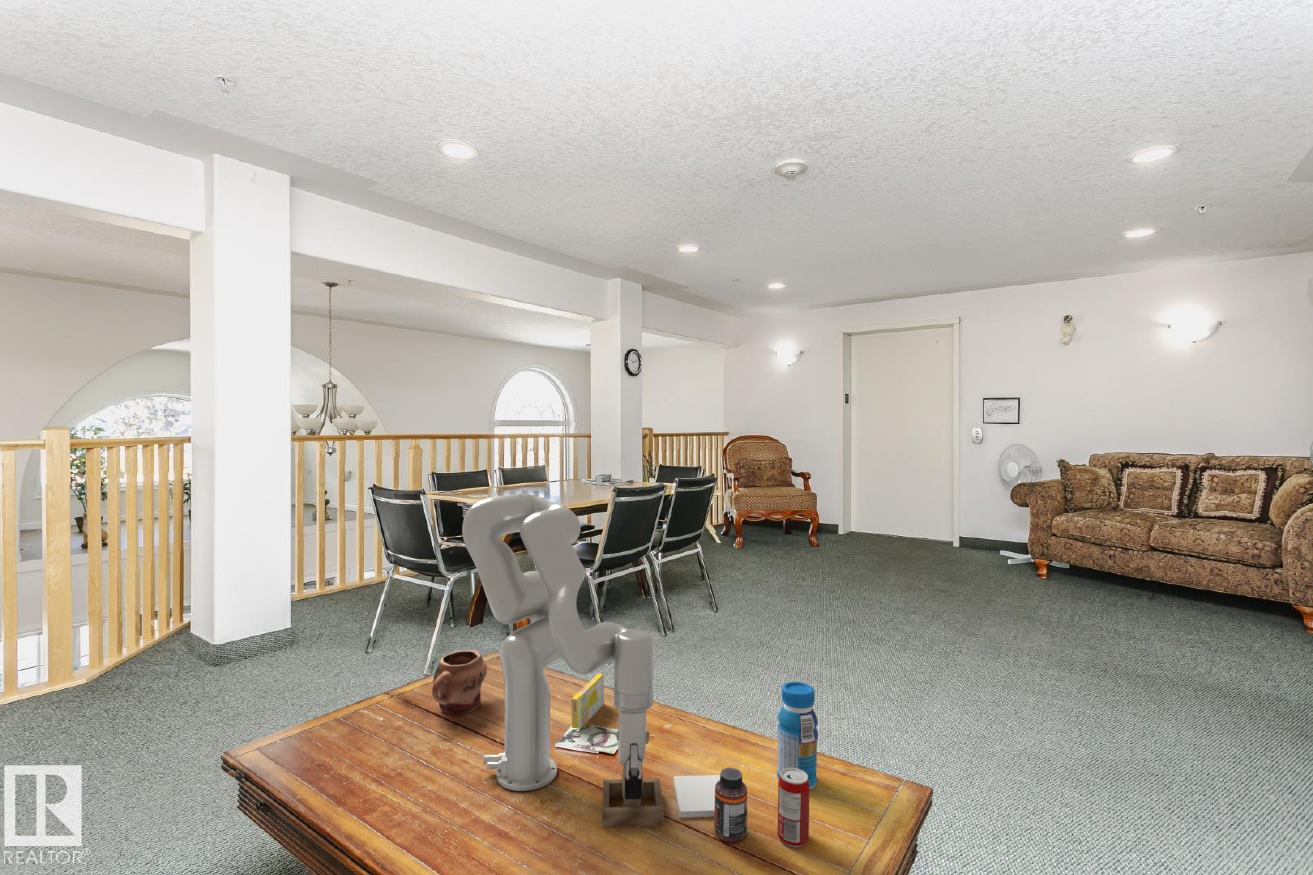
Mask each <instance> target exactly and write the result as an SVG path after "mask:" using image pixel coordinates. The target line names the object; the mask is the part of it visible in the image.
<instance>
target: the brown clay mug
mask: <svg viewBox="0 0 1313 875" xmlns="http://www.w3.org/2000/svg"><path fill="white" fill-rule="evenodd" d="M487 672H488V665H487V663H486V661H485V660H484V659H483V656H482V654H481V652H480V651H478V650H475V649H474V650H473V649H471V650H470V649H469V650H468V649H467V650H458V651H454V652H451V653H449V654H446V655H444V656H442V657H441V659H440V660H439V662H438V665H437V668H436V670H435V672H434V674H433V679H432V683H433V684H432V690H431V693H432V694H431V696H432V697H433V699H434V701H435V702H437V703H438V705H439V706H438V707H439V709H440V711H441V712H442V713H445V714H448V715H463V714H467V713H470V712H472V711H474V710H475V709H477V708H478V707H479V706H480V705H481V702H482V701H481V700H482V699H481V692H482V691H481V690H482V684H483V682H484V680H485V678H486V676H487V675H488V674H487Z"/></svg>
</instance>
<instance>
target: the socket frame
mask: <svg viewBox="0 0 1313 875" xmlns="http://www.w3.org/2000/svg"><path fill="white" fill-rule="evenodd" d="M660 779H661V778H659V777H658V778H657V777H656V778H643V788H642V798H645V797H646V798H649V797H651V798H652V797H653V802H654V806H653V805H650V806H648V805H646V806H641V807H624V806H615V807H614V806H613V807H611V806H610V799H612V798H613V799H615V798H616V799H617V798H620V799H621V798H623V792H622V778H621V779H603V781H602V784H603V785H602V809H601V810H602V816H601V817H602V820H601V821H602V822H601V824H602V825H601V826H602V828H626V827H627V828H628V827H629V828H631V827H632V828H633V827H661V826H664V813H665V812H664V810H665V809H664V802H663V794H662V787H661V780H660Z"/></svg>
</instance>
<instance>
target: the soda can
mask: <svg viewBox="0 0 1313 875" xmlns="http://www.w3.org/2000/svg"><path fill="white" fill-rule="evenodd" d="M777 789H778V790H777V791H778V792H777V794H778V795H777V838H779V840H780V841H781V843H783V844H784V845H786V846H788V847H791V848H801V847H803V846H804V845H806V844H807V843H808V841H809V839H810V838H809V835H810V834H809V833H810V832H809V831H810V790H811V789H810V784H809V780H808V775H807V774H806V773H805V772H804V771H802V770H800V769H797V768H785V769H783V770H782V771H781V774H780V777H779V781H778V788H777ZM809 789H810V790H809Z"/></svg>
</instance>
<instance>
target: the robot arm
mask: <svg viewBox="0 0 1313 875" xmlns="http://www.w3.org/2000/svg"><path fill="white" fill-rule="evenodd" d="M461 530H462V538H463V541H464V544H465V548H466V549H467V552H468V554H469V555H470V557H471V559H472V561H473V564H474V566H475V567H476V568H475V569H476V570H477V574H478V576H479V579H480V582H481V585H482V587H483V591H484V593H485V597H486V598H487V601H488V604H489V608H490V610H491V612H492V615H493V616H494V618H495V620H496V621H497V622H498V623H500V624H502V625H513V624H516V623H520V622H521V621H524V620H526V619H529V621H530V623H528V624H526V625H524V626H522V627H520V628H518V629H516V630H514V631H512V632H511V633H510V634H508V635H507V636H506V637H505V639H504V640H503V642H502V644H501V646H500V650H499V659H500V660H499V661H500V665H501V670H502V674H503V676H502V677H503V686H504V688H503V690H504V692H503V693H504V746H503V747H504V751H503V752H499V754H493V753H492V754H490V753H489V754H484V755H483V765H486V770H496V781H497V783H498V784H499V785H500V786H501V787H502V788H505V789H508V790H511V791H515V792H528V791H534V790H538V789H541V788H543V787H546V786H547V785H548V784H550V783H552V782H553V780H554V779H555V778H556V776H557V774H558V767H557V763H556V762H555V760H553V758H551V757H550V756H551V754H550V753H551V751H550V749H551V746H550V745H551V689H550V688H551V687H550V684H549V681H548V679H547V676H546V675H545V668H546V667H548V666H549V665H551V664H552V663H554V662H556V661H558V660H559V659H561V658H562V659H563V661H564V662H565V664H566V665H567V666H568V667H569V668H570V670H572V671H573V672H575V673H576V674H578V675H584V676H587V675H591V674H593V673H595V672H596V671H598V670H600V669H601V668H602V667H604V666H606V665H607V664H610V663H613V662H614V666H613V667H614V671H613V672H614V674H613V676H614V677H613V679H614V680H613V689H614V690H613V691H614V692H613V704H614V705H613V706H614V708H615V709H617V710H618V726H617V727H618V730H617V731H618V737H619V741H617V746H618V747H617V748H618V752H617V753H618V763H619V764H620V765H622V766H623V764H625V763H626V777H625V799H626V800H631V799H641V800H642V798H643V797H642V777H641V764H642V765H643V763H644V762H645V759H646V758H645V756H646V755H645V754H646V745H647V744H646V731H647V711H648V710H650V709H651V708H652V707H653V701H654V700H653V699H654V695H653V694H654V639H653V636H652V635H651V634H650V633H649V632H647V631H646V630H640V629H629V628H627V627H626V626H622V625H620V624H618V623H616V622H612V621H604V622H600V623H598V624H596V625H594V626H593V627H592V626H591V627H590V628H588V629H585V628H584V624H583V623H582V621H581V618H580V616H579V613H578V609H577V608H578V607H577V597H578V592H579V590H580V588H581V585H582V583H583V581H584V580H585V577H586V569H585V567H584V565H583V563H582V562H581V559H580V557H579V556H578V554H577V552H576V551H575V549H574V547H573V545H572V544H573V543H574V542H576V541H577V539H578V538H579V537H580V533H581V524H580V520H579V518H578V516H577V514H575V513H574V511H572V510H571V509H569V508H567V507H565V506H563V505H561V504H558V503H556V502H553V501H550V500H548V499H545V498H542V497H541V496H540V497H539V496H537V495H534V494H532V493H526V492H525V493H523V492H521V493H513V494H512V493H511V494H506V495H498V496H492V497H488V498H485V499H482V500H478V501H477V502H475V503H474V504H473V505H471V506H470V508H469V509H468V510H467V512H466V513H465V515H464V519H463V521H462V529H461ZM513 533H519V535H520V538H521V540H522V542H523V545H524V547H525V548H526V551H527V552H528V554H529V556H530V558H531V561H532V562H533V564H534V566H535V568H536V570H529V571H525V572H524V573H523V572H522V570H521V568H520V565H519V562H518V559H517V556H516V554H515V553H514V551H513V550H512V549H511V547H510V546H509V545H508V544H507V543H506V542H505V541H503V540H502V537H503V536H504V535H510V534H513ZM630 744H631V750H630ZM645 744H646V745H645ZM638 755H639V760H638V759H637V758H638ZM628 758H631V760H628ZM629 765H631V769H630V770H629Z"/></svg>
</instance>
